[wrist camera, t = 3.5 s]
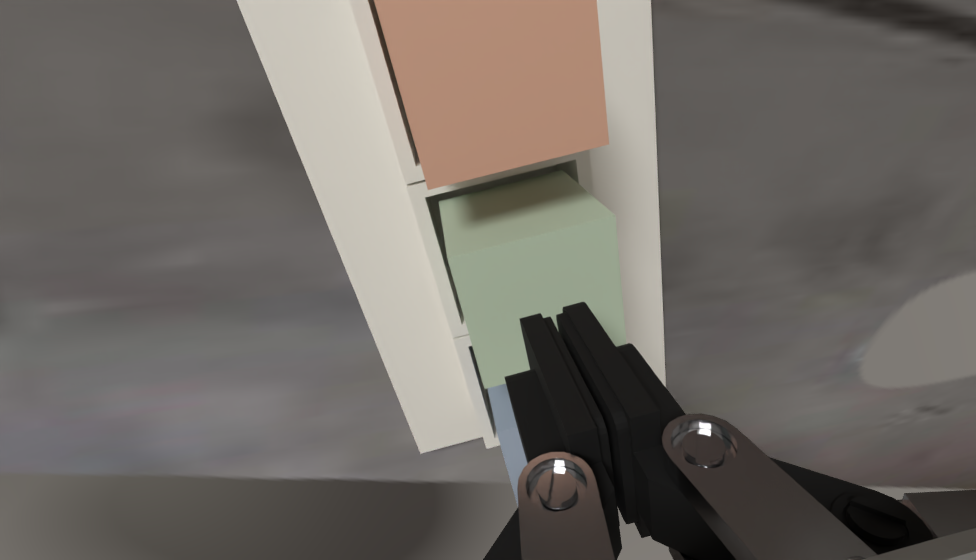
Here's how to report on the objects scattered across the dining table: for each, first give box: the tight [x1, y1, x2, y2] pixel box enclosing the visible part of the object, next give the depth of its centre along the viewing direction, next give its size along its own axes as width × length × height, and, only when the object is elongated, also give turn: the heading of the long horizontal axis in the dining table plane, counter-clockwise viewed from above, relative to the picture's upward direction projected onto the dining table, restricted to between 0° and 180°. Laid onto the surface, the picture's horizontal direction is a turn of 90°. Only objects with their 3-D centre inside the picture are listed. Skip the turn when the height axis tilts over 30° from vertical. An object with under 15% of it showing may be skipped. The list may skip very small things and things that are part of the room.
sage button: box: [439, 170, 626, 389], centre depth 16 cm, size 5×5×5 cm
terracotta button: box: [374, 0, 609, 190], centre depth 13 cm, size 5×5×5 cm
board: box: [237, 0, 666, 453], centre depth 19 cm, size 14×24×4 cm, turn 12°
